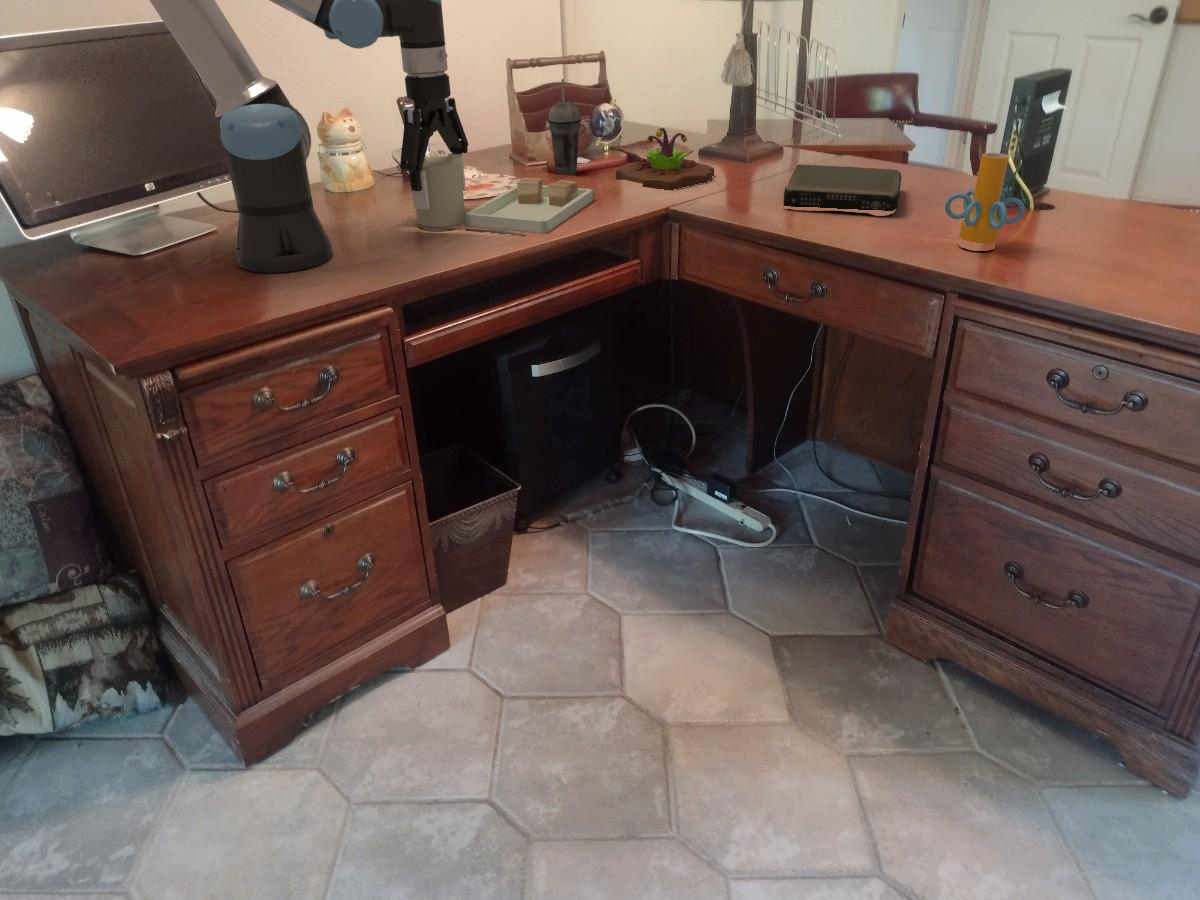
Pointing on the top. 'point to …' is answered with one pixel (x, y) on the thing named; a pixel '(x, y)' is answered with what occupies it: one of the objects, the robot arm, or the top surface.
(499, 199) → the tray
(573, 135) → the beverage cup
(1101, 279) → the top surface
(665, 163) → the plant
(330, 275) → the top surface
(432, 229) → the can
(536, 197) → the block
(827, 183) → the network switch
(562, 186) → the block
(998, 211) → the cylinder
